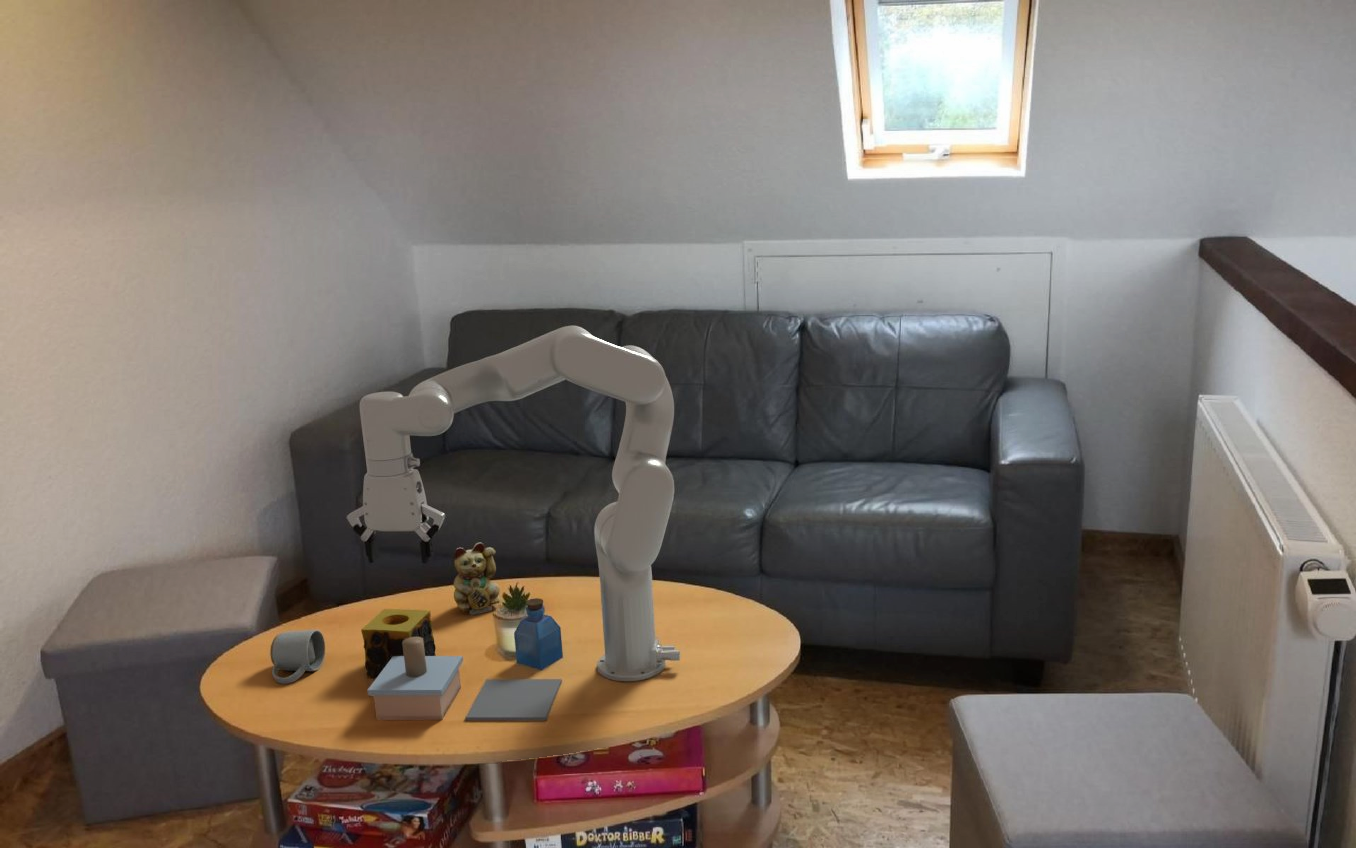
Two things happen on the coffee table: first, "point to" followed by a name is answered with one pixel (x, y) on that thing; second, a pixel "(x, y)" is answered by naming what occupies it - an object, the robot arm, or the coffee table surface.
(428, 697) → the dish
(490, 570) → the decorative figurine
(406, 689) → the lid
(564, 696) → the coffee table surface
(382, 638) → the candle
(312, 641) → the ceramic mug
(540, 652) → the perfume bottle
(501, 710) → the mat
